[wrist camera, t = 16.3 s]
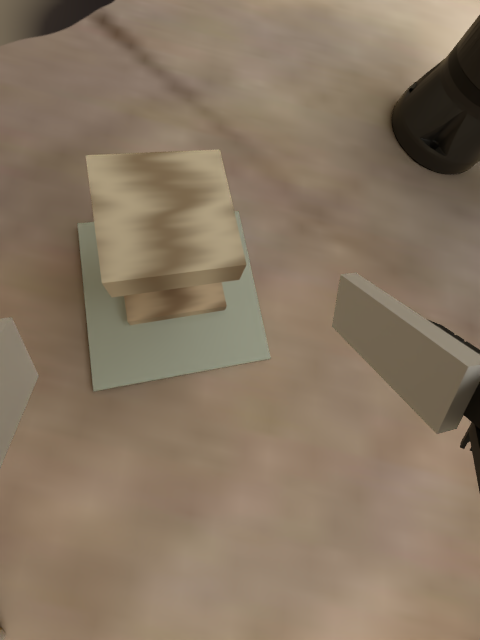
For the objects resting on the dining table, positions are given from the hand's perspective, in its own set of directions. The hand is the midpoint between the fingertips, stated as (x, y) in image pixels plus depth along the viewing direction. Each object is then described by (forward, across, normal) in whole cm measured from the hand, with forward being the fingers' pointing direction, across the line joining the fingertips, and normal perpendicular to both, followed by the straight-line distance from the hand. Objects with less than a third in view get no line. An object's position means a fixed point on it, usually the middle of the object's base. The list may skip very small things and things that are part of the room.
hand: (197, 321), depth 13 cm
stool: (+21, 0, -1) cm, 21 cm away
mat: (+21, 0, +8) cm, 22 cm away
